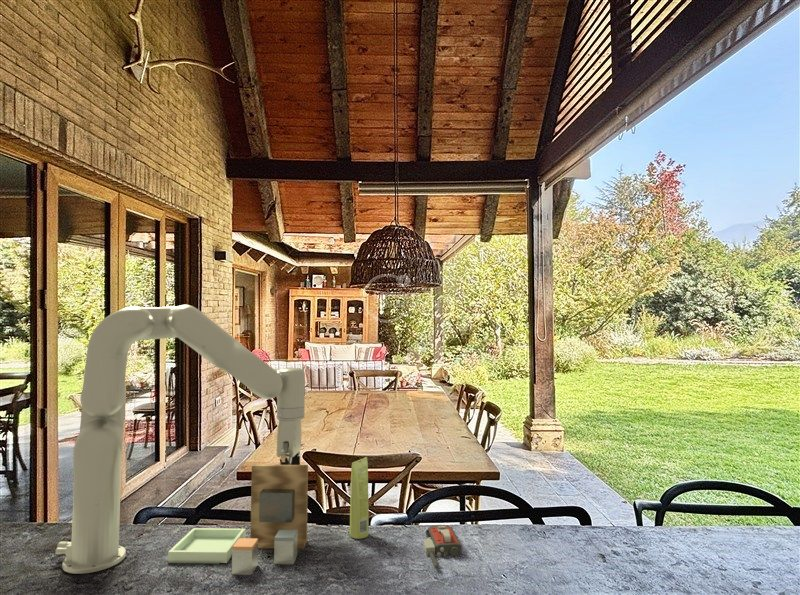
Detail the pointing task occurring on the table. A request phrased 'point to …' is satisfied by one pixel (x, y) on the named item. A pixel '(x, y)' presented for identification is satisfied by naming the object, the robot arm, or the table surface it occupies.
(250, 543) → the block
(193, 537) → the tray
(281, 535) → the block
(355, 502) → the tube
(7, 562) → the table surface
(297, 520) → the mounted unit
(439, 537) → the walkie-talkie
